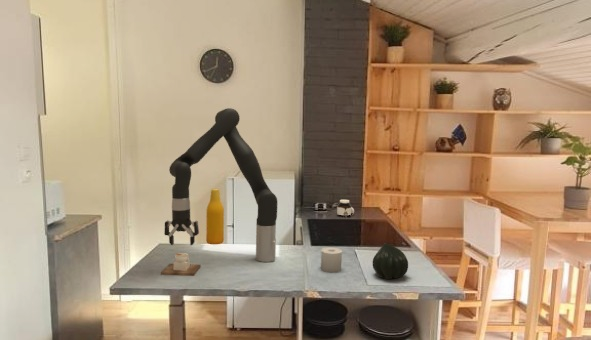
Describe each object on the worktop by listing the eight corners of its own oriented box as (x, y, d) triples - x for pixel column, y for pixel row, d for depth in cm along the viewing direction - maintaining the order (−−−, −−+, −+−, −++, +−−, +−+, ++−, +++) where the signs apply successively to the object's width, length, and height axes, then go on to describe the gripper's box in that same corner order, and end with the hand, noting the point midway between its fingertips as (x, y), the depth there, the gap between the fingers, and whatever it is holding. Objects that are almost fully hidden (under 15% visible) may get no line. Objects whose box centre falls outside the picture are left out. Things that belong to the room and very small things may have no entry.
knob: (189, 266, 183) (190, 252, 182) (186, 270, 177) (186, 256, 176) (177, 265, 183) (177, 251, 182) (173, 270, 177) (173, 255, 176)
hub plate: (200, 266, 185) (200, 258, 185) (193, 275, 174) (193, 266, 174) (169, 265, 186) (169, 257, 185) (161, 274, 175) (161, 265, 174)
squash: (417, 270, 172) (405, 238, 180) (385, 274, 168) (374, 241, 176) (403, 282, 183) (392, 251, 191) (373, 287, 179) (363, 255, 187)
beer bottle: (215, 238, 230) (215, 187, 227) (227, 242, 225) (227, 189, 221) (202, 242, 222) (202, 189, 219) (214, 245, 217) (214, 191, 214)
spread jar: (336, 217, 293) (337, 201, 291) (337, 213, 304) (338, 198, 302) (353, 218, 291) (354, 201, 289) (354, 214, 302) (354, 199, 300)
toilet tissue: (327, 261, 197) (328, 244, 196) (345, 270, 186) (346, 251, 185) (312, 264, 192) (312, 246, 191) (329, 273, 181) (330, 254, 180)
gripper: (199, 206, 180) (200, 242, 182) (167, 206, 180) (168, 241, 182) (195, 210, 173) (196, 247, 175) (161, 209, 173) (162, 247, 175)
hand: (182, 244), depth 178 cm, fingers open, 8 cm apart
